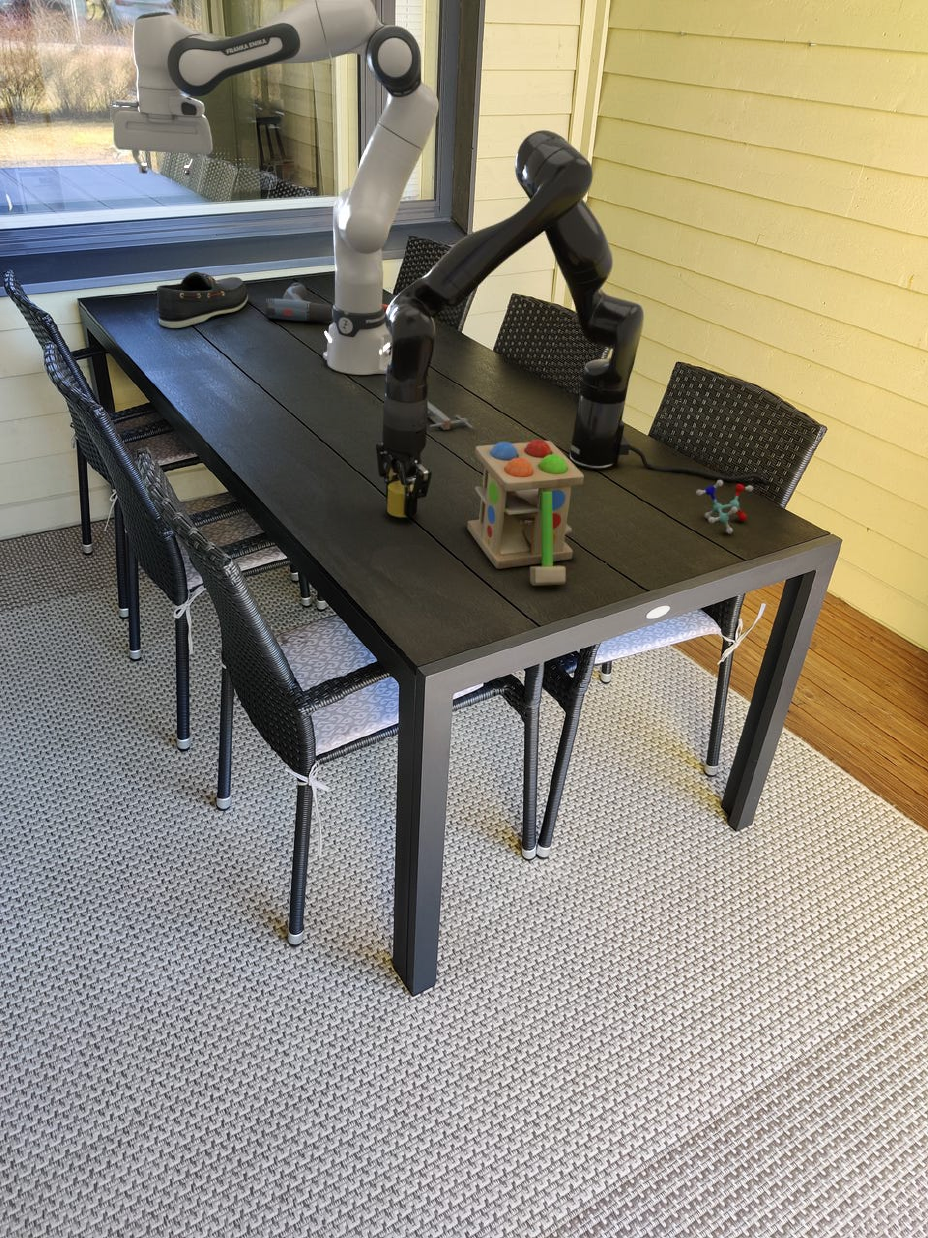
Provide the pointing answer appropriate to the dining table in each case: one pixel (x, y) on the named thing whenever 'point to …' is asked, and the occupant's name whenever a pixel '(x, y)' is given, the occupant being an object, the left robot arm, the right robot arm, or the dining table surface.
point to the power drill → (297, 306)
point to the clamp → (444, 419)
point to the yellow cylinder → (396, 499)
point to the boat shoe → (199, 299)
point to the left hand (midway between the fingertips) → (166, 174)
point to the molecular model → (719, 507)
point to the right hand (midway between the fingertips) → (401, 508)
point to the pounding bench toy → (525, 507)
